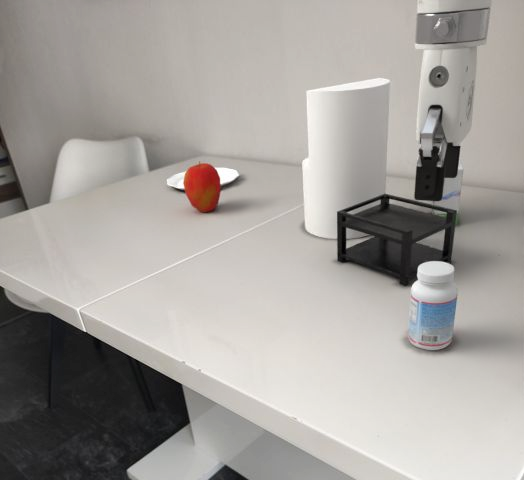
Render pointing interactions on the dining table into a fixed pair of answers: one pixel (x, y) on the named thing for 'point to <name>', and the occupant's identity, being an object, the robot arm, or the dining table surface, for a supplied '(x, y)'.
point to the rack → (395, 236)
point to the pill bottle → (433, 306)
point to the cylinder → (344, 152)
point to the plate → (224, 173)
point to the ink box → (451, 194)
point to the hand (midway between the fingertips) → (436, 187)
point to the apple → (202, 186)
